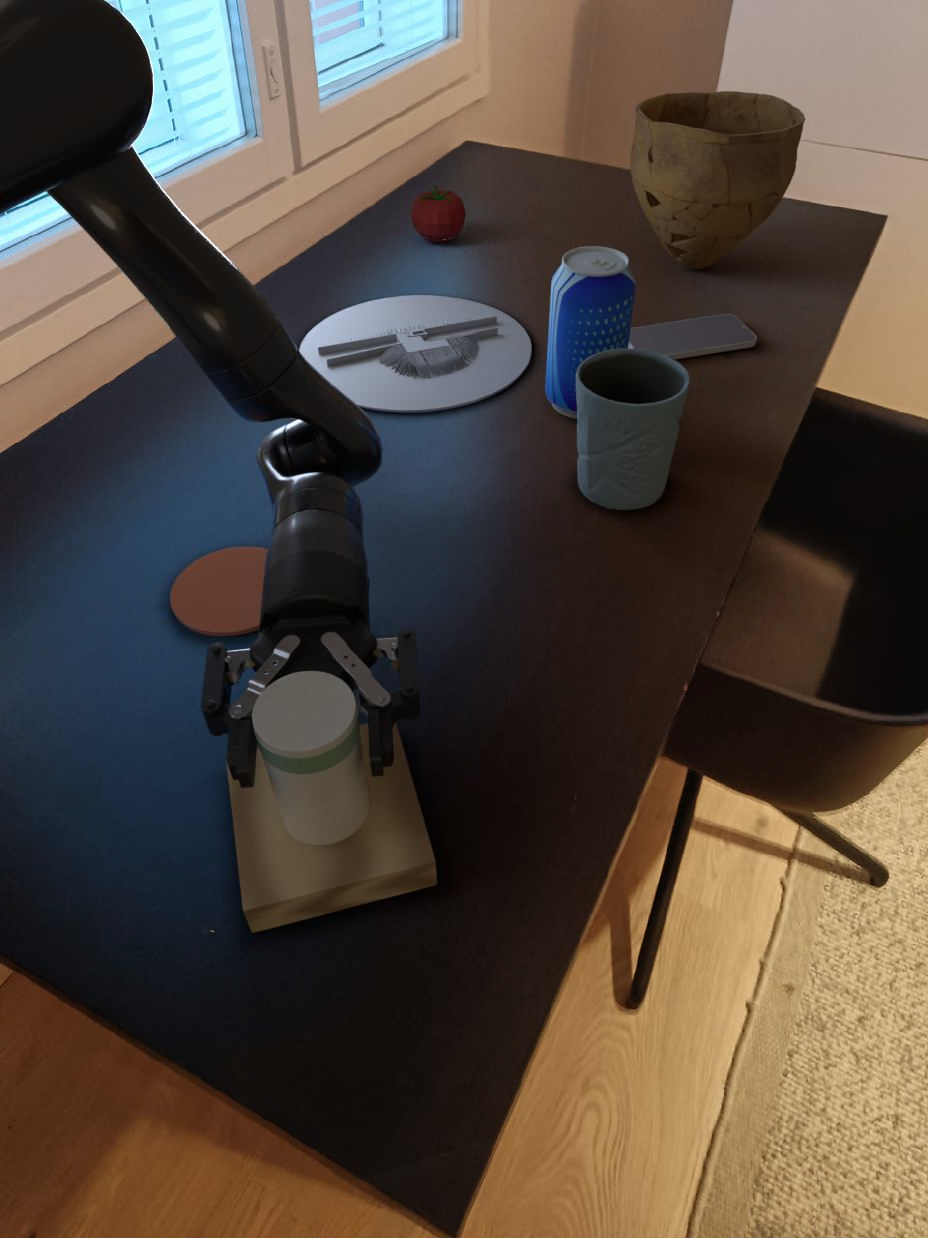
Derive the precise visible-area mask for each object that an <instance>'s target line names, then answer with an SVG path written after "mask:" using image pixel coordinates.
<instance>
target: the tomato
mask: <svg viewBox="0 0 928 1238" xmlns="http://www.w3.org/2000/svg"><path fill="white" fill-rule="evenodd" d="M434 188H435V189H427V191H425V192H422V193H421V194H420V195H418V196H417V197H416V198H415V199H414V200H413V203H412V207H411V212H410V213H411V214H410V219H411V222H412V225H413V226H412V227H413V229H414V230H415V231H416V232H417V233H418V234H419V236H421V238H423V237H425V238H423V239H424V240H426V241H428V242H433V243H442V242H449V241H452V240H454V239H455V238H456V237H457V236H458V234H459V233H460V232H461V231H462V230H463V229H464V227H465V221H466V216H467V215H466V208H465V205H464V202H463V199H462V198H461V197H459V196H458V195H457V194H456V193H455V192H454V191H452V190H448V189H447V190H444V189H438V185H437V184H434ZM454 236H455V237H454ZM452 237H453V238H452ZM426 238H427V239H426ZM449 238H450V239H449ZM443 239H446V240H443Z"/></svg>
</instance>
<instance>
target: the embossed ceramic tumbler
mask: <svg viewBox="0 0 928 1238" xmlns="http://www.w3.org/2000/svg"><path fill="white" fill-rule="evenodd" d="M690 384H691V378H690V375H689V371H687V369H686V368H685V366H684V365H683V364H681V363H680V362H679V361H677V360H676V359H674V360H673V359H671V358H669V357H667V356H666V355H663V354H661V353H658V352H654V351H649V350H643V349H629V348H623V349H613V350H607V351H603V352H600V353H597V354H594V355H592V356H590V357H588V358H587V359H585V360H584V361H583V362H582V363H581V364H580V366H579V367H578V369H577V371H576V400H577V419H576V422H577V424H576V446H577V453H578V458H577V461H576V465H577V466H576V468H577V469H576V472H577V485H578V489H579V491H580V492H581V493H582V495H583V496H584V497H585V498H586V499H587V500H589V501H590V502H591V503H593V504H595V505H598V506H600V507H603V508H606V509H608V510H609V509H610V510H616V511H618V510H620V511H631V510H637V509H638V510H639V509H642V508H647V507H649V506H651V505H653V504H654V503H656V502H657V501H658V500H659V499H660V498H661V497H662V495H663V494H664V492H665V489H666V485H667V481H668V477H669V472H670V467H671V463H672V460H673V459H672V458H673V455H674V452H675V448H676V442H677V439H678V435H679V430H680V424H679V421H680V420H681V418H682V416H683V411H684V410H683V409H684V407H685V404H686V399H687V396H688V392H689V388H690Z"/></svg>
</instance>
